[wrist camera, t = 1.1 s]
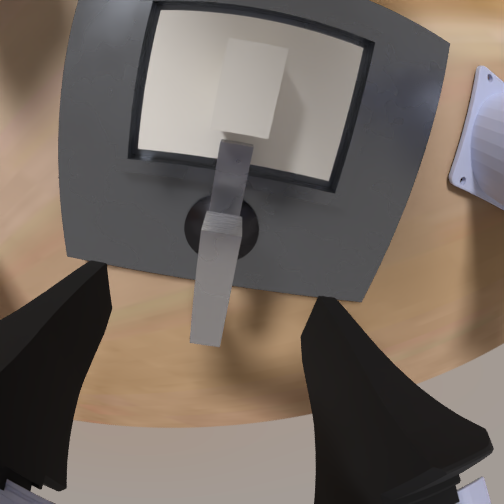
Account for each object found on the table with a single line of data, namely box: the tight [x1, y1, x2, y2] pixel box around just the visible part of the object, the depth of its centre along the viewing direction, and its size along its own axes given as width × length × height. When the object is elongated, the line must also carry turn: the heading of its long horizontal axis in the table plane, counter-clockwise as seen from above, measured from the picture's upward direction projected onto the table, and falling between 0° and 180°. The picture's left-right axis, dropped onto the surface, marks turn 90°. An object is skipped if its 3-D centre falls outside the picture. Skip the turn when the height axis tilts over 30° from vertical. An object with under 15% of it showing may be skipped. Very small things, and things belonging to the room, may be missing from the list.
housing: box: [58, 0, 450, 302], centre depth 12 cm, size 18×16×2 cm
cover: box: [138, 10, 363, 181], centre depth 9 cm, size 8×6×4 cm
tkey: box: [190, 139, 254, 347], centre depth 11 cm, size 1×7×5 cm, turn 169°
